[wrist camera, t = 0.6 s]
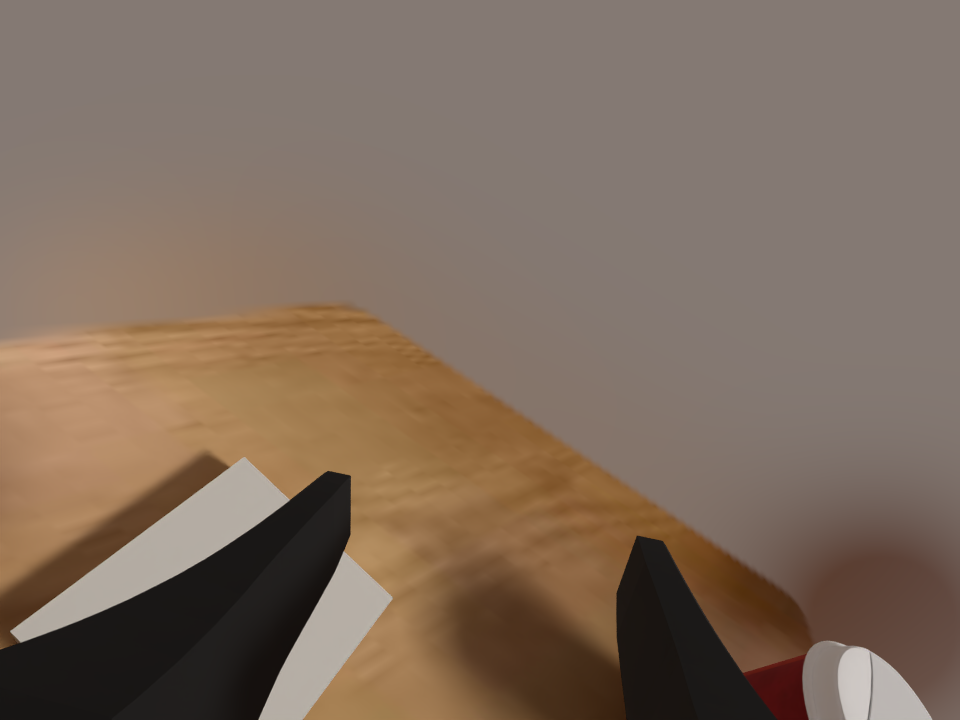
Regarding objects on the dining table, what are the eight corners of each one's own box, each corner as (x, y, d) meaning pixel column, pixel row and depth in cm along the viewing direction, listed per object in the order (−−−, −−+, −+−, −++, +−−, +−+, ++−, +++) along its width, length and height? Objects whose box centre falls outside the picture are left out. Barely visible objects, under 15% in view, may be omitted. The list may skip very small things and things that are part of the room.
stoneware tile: (208, 835, 21) (214, 837, 19) (17, 642, 21) (9, 631, 20) (380, 607, 29) (393, 597, 27) (238, 472, 29) (244, 456, 28)
